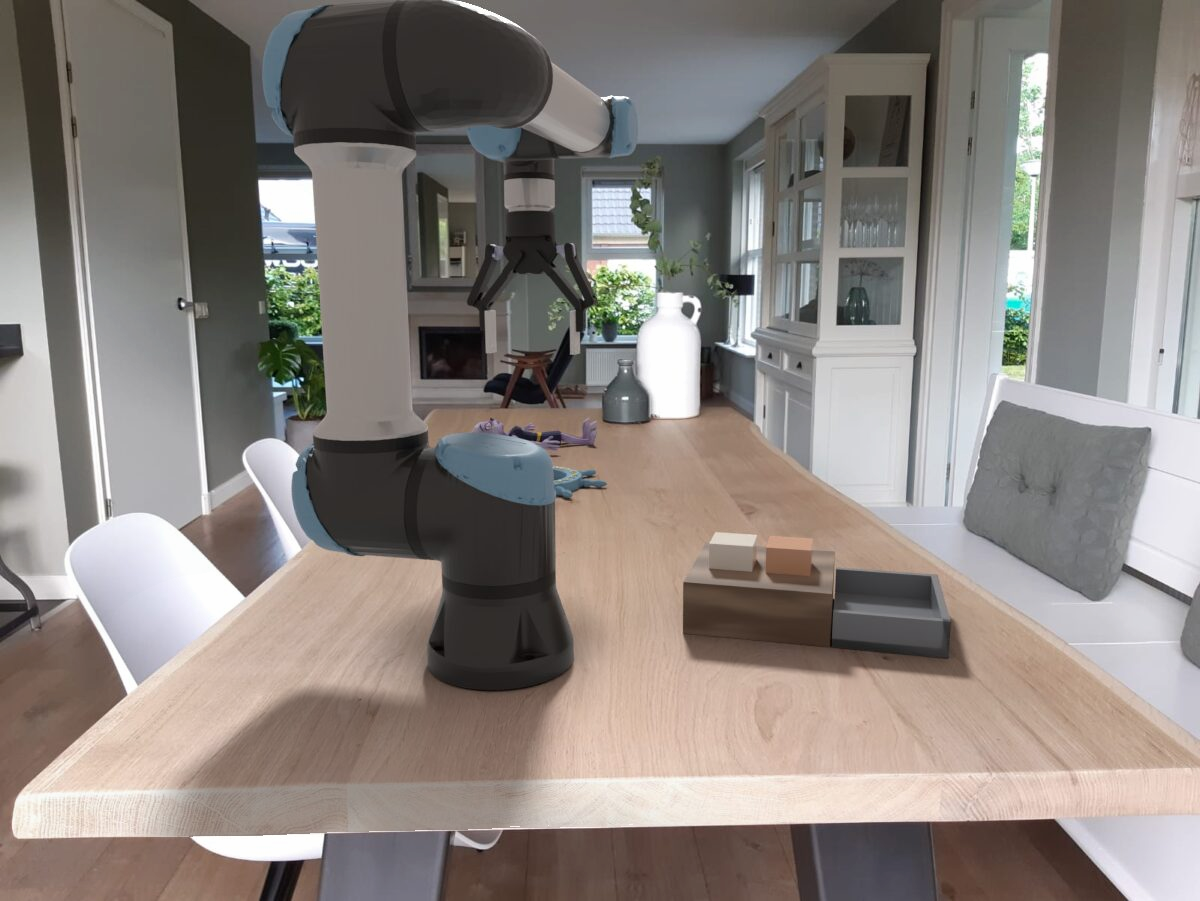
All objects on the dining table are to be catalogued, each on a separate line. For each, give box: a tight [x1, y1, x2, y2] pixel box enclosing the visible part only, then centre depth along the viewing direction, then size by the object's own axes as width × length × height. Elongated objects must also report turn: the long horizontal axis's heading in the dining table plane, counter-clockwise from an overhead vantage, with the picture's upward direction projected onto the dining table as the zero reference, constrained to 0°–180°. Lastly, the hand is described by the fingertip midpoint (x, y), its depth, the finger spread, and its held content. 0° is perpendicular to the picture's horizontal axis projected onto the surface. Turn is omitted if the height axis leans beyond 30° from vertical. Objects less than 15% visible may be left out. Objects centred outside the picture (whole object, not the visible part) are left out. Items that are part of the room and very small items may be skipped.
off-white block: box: [708, 531, 758, 572], centre depth 108 cm, size 5×5×3 cm
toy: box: [469, 416, 598, 452], centre depth 219 cm, size 26×9×30 cm
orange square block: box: [765, 535, 814, 576], centre depth 106 cm, size 5×5×3 cm
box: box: [831, 566, 952, 659], centre depth 104 cm, size 16×12×4 cm
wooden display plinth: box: [682, 542, 836, 648], centre depth 108 cm, size 16×16×6 cm
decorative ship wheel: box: [553, 465, 608, 499], centre depth 178 cm, size 30×3×30 cm
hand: (532, 353), depth 141 cm, fingers open, 13 cm apart
